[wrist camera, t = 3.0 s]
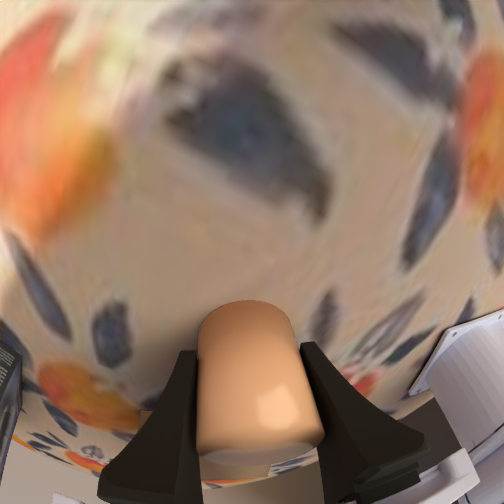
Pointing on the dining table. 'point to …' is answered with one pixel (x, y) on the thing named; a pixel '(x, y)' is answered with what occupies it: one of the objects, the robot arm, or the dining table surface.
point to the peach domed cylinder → (252, 388)
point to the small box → (9, 397)
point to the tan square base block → (219, 470)
